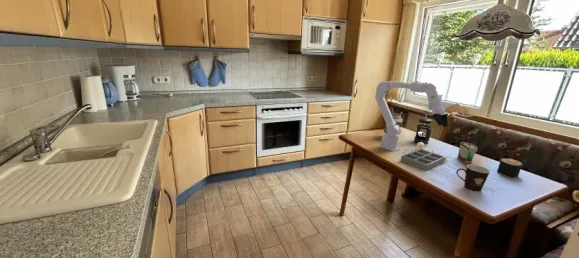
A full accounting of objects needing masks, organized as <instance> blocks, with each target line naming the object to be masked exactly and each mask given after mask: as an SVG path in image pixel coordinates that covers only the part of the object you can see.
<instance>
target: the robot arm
mask: <svg viewBox="0 0 579 258" xmlns="http://www.w3.org/2000/svg"><path fill="white" fill-rule="evenodd" d="M394 88H397V89H398V88H399V89H409V90H410V91H411V92H415V93H421V94H422V93H425V94H426V97H427V100H428V104H429V106H430V111H431V112H432V115H431V118H432V119H434V121H435V122H436V124H438V126H439V127H440V126H442V127H443V128H445V127H448V126H449V123H448V116H449V113H445V111H446V110H447V108H445V107H444V106H443V104H442V100H441V97H440V95H439V94H438V91H437V85H435V84H434V83H432V82H428V81H426V82H420V81H419V80H416V81H412V82H402V81H396V80H390V81H388V80H384V81H381V82H379V83H378V85H377V86H376V91H375V97H374V98H375V100H376V103H377V106H378V108H379V110H380V113H381V115H382V117H383V120H384V122H385V127H387V134H386V133H384V134H383V135H382V137H381V142H380V146H379V148H382V149H384V150H387V151H390V152H395V151H398V150H400V148H398V143H399V138H400V136H399V135H400V134H399V135H398V132H399V131H400V130H401V126H400V127H399V126H398V125H397V124H396V122H395V121H394V119H393V117H392V115H391V113H392V112H391V110H390V108H389V105H388V103H387V100H386V98H385V96H386V94H387V92H389V91H390V90H392V89H394Z"/></svg>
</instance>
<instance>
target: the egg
mask: <svg viewBox="0 0 579 258" xmlns="http://www.w3.org/2000/svg"><path fill="white" fill-rule="evenodd" d="M425 145H426V144H424V143H422V142H419V143H416V147H415V151H416V150H419V149H423V150H425Z"/></svg>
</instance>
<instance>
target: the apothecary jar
mask: <svg viewBox="0 0 579 258" xmlns="http://www.w3.org/2000/svg"><path fill="white" fill-rule="evenodd" d="M391 115H392V117H393V119H394V121H395V122H396V124H397V125H398V126H399V127H400V128H401V124H403V121H404V120H403V118H402V115H401V114H400V113H396V112H395V113H393V112H391ZM383 132H384V134H387V127H386V126H385V127H383ZM401 134H402V130H401V129H400V131H399V132H398V135H401Z"/></svg>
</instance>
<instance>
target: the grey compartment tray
mask: <svg viewBox="0 0 579 258" xmlns="http://www.w3.org/2000/svg"><path fill="white" fill-rule="evenodd" d="M446 158H447V157H446V156H444V155H441V154H437V153H435V152H432V151H428V150H427V149H426V150H425V149H424V150H423V149H419V150H416V149H415V150H413V151H411V152H408V153H405V154H402V155H401V157H400V162H403V163H406V164H408V165H411V166H413V167H416V168H418V169H421V170H424V171H428V170H430V169H432V168H434V167H437V166H439V165H442V164H443V163H445V162H446Z"/></svg>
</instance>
